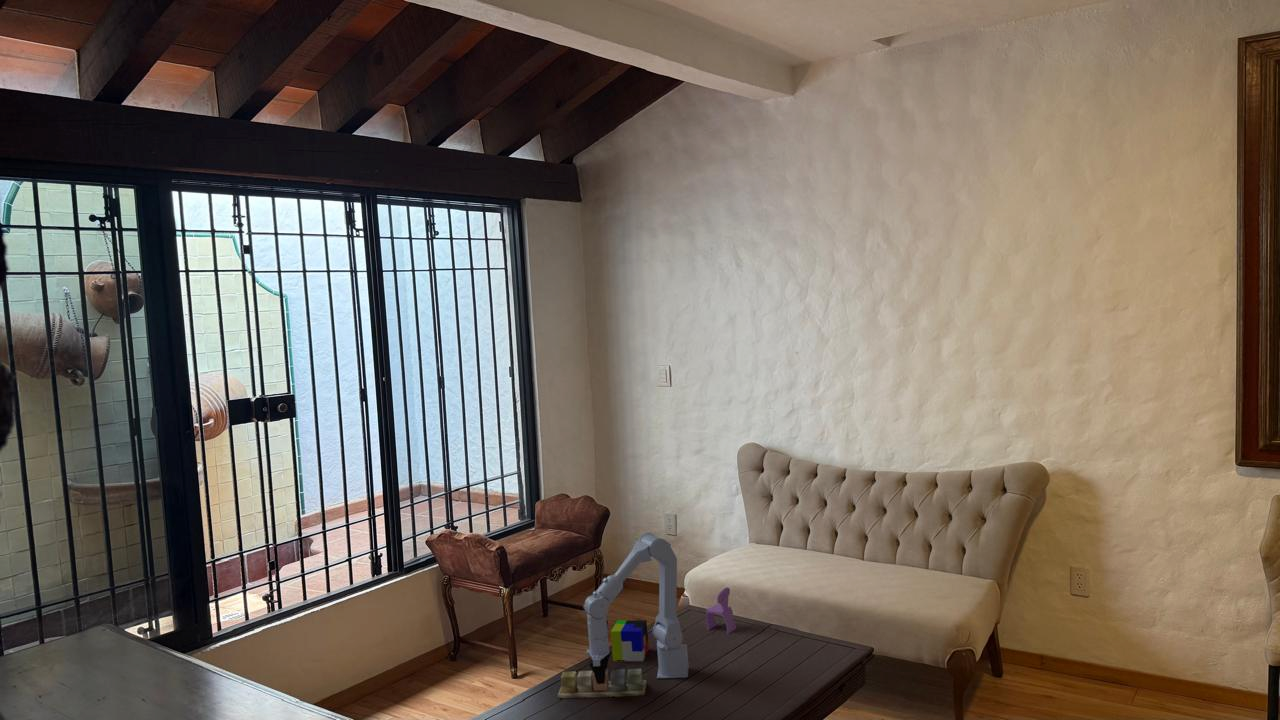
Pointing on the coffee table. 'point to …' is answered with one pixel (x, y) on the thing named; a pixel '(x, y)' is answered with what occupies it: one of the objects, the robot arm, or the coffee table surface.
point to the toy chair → (721, 611)
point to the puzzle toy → (629, 640)
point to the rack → (615, 688)
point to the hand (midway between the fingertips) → (601, 680)
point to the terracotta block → (601, 686)
